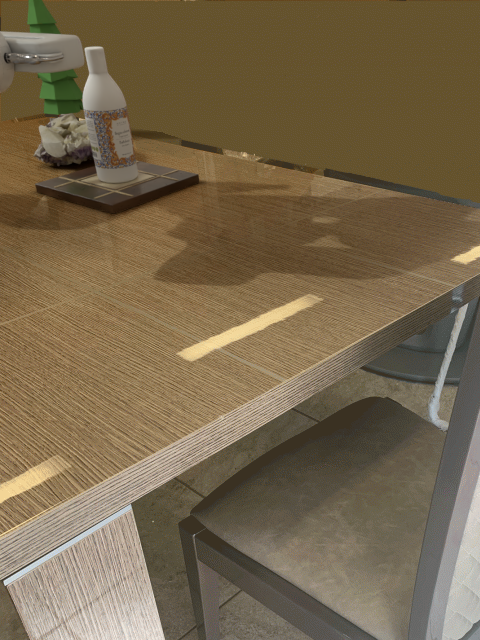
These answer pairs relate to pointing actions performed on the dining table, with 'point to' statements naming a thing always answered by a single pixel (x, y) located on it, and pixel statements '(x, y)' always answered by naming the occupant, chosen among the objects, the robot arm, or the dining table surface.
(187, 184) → the game board
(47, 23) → the decorative tree
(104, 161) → the bath foam
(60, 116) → the geode
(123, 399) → the dining table surface
